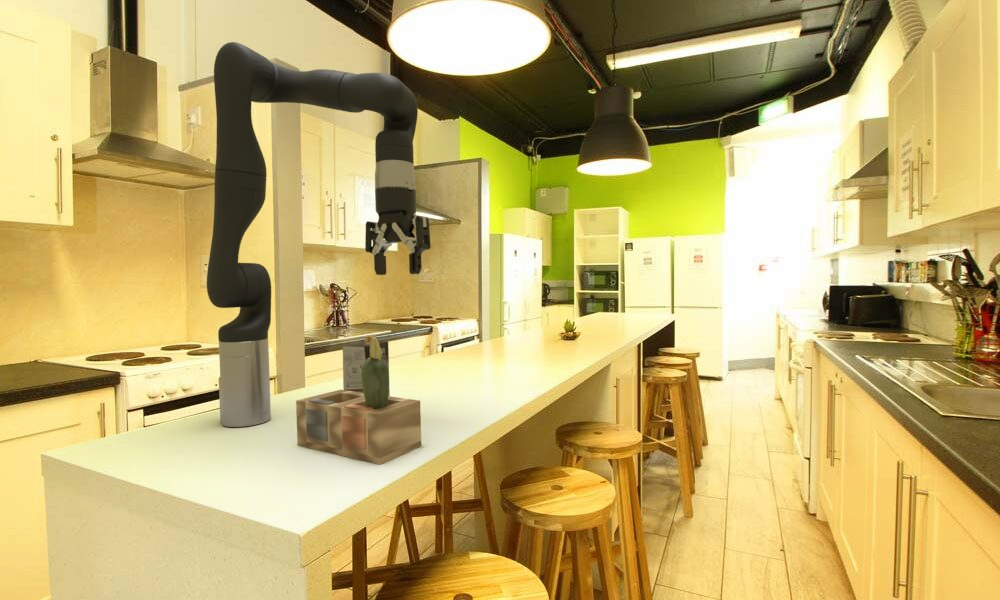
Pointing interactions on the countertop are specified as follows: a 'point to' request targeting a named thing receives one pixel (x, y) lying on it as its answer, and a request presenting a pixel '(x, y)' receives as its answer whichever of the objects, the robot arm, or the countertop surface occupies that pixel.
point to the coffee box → (359, 363)
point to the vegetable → (375, 376)
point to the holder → (358, 426)
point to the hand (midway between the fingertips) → (397, 274)
